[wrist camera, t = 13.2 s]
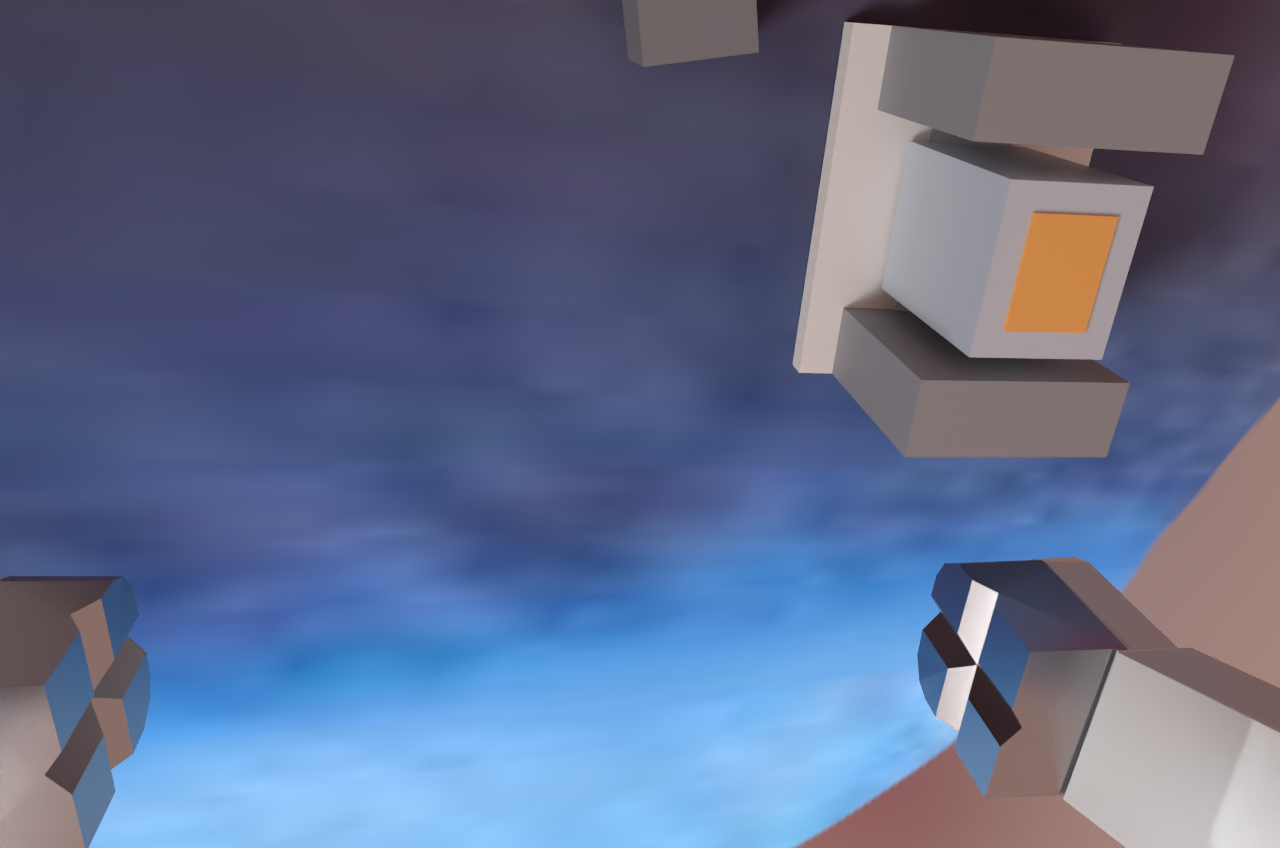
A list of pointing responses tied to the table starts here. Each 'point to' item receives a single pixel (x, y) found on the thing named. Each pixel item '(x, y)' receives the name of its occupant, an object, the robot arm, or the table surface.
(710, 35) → the block
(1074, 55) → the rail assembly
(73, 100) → the table surface
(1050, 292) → the block
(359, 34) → the table surface
